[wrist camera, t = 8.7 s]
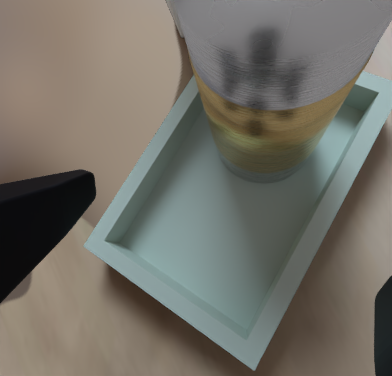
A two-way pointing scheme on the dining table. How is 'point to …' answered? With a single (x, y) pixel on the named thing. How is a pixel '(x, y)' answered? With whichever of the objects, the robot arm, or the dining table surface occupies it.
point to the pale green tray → (232, 220)
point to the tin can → (276, 73)
